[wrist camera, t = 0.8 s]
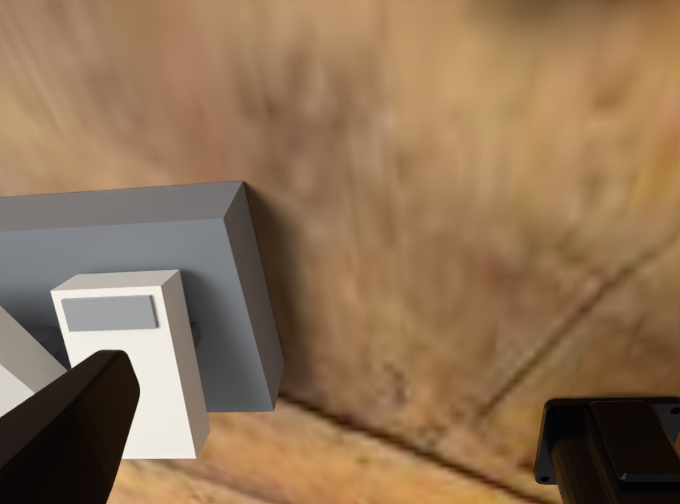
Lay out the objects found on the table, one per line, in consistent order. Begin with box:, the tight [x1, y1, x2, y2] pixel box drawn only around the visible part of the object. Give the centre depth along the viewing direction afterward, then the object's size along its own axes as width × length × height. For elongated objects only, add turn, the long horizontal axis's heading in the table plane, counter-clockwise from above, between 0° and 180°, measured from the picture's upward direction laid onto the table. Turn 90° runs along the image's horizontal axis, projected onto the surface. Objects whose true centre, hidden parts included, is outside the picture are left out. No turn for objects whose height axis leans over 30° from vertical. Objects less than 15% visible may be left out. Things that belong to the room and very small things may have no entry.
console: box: [0, 181, 285, 412], centre depth 23 cm, size 10×20×4 cm, turn 96°
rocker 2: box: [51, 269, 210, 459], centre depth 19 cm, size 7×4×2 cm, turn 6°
